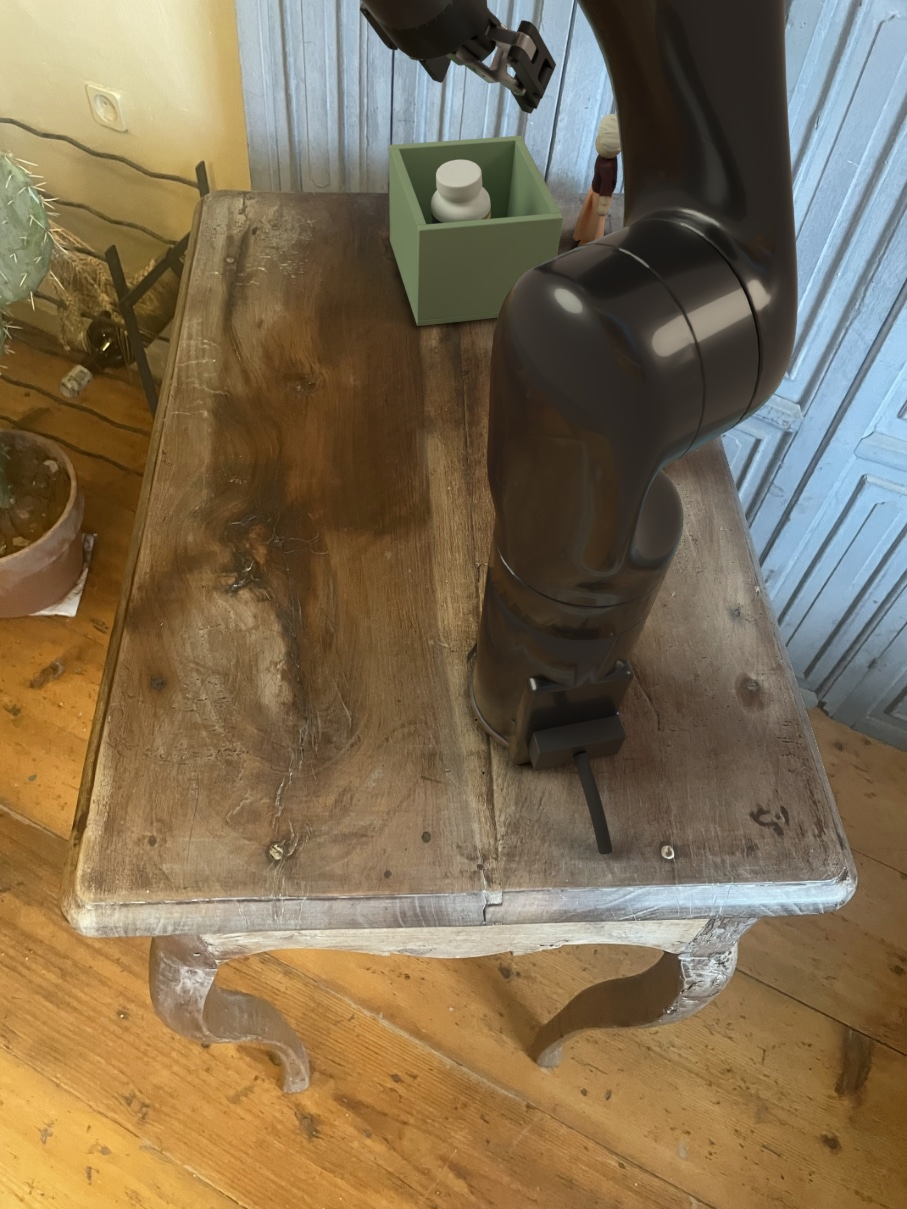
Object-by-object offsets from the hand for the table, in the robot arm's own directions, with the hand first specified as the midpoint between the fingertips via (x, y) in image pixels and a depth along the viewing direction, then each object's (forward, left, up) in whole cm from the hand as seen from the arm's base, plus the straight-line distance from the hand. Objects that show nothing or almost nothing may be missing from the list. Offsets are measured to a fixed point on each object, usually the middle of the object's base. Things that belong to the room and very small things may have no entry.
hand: (487, 85), depth 71 cm
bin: (-1, +1, -17) cm, 17 cm away
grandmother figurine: (+2, -13, -17) cm, 22 cm away
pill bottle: (-1, +1, -16) cm, 16 cm away
